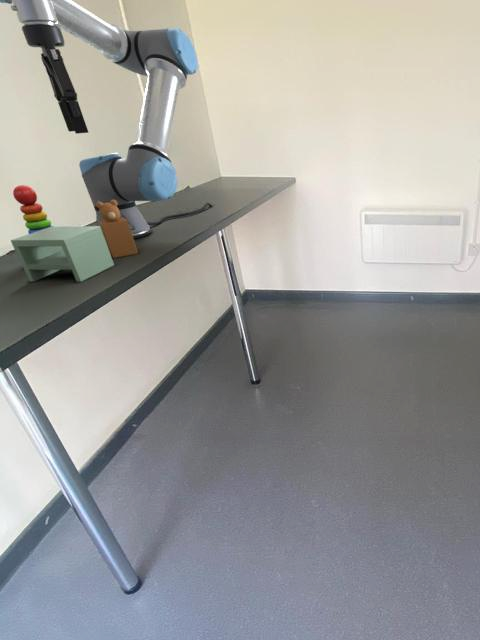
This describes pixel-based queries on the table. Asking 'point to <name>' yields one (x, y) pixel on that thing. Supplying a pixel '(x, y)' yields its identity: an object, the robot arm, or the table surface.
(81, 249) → the pale green square stand
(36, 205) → the stacking toy
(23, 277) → the table surface
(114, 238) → the plush bear
